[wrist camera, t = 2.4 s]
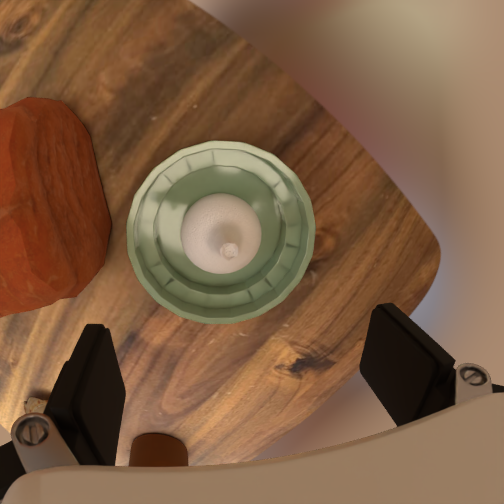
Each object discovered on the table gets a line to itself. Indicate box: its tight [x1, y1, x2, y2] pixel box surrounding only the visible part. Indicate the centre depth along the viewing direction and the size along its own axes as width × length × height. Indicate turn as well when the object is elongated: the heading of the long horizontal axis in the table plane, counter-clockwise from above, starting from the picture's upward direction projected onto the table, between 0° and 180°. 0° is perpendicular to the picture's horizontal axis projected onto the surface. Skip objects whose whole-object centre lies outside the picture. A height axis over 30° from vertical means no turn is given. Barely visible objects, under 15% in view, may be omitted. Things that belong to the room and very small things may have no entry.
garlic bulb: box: [180, 193, 262, 274], centre depth 22 cm, size 6×6×8 cm
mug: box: [129, 434, 188, 467], centre depth 31 cm, size 12×8×9 cm, turn 153°
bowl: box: [126, 140, 316, 324], centre depth 25 cm, size 14×14×4 cm
